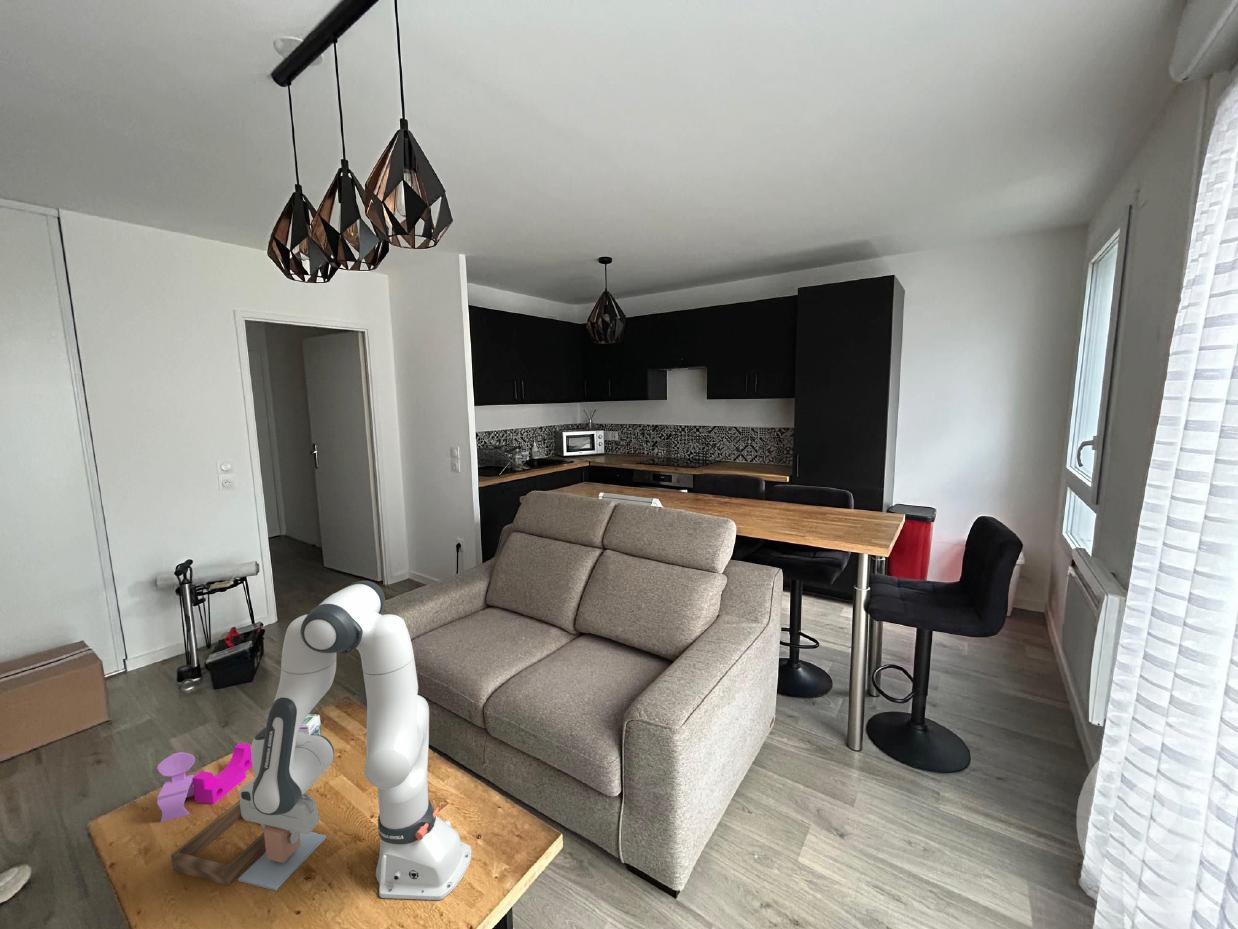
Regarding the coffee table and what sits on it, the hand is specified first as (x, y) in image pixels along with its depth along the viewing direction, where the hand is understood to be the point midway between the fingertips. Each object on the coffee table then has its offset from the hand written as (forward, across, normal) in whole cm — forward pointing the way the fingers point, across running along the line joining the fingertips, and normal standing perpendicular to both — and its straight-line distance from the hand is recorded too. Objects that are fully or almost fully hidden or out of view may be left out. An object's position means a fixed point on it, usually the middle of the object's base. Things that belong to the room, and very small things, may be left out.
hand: (282, 839), depth 126 cm
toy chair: (+6, +43, -6) cm, 44 cm away
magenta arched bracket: (+6, +38, -17) cm, 42 cm away
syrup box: (+6, +22, -30) cm, 38 cm away
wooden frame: (+6, +15, 0) cm, 16 cm away
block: (+4, 0, 0) cm, 4 cm away
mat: (+6, 0, 0) cm, 6 cm away
